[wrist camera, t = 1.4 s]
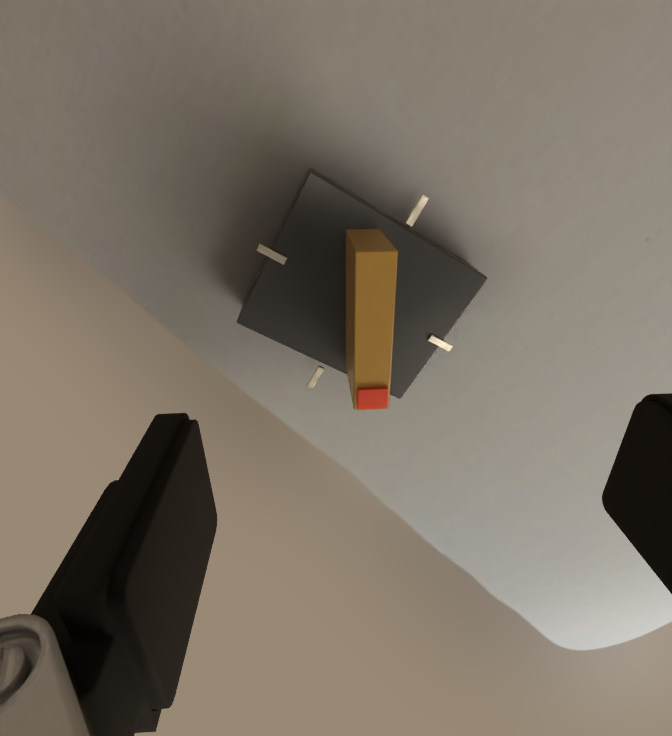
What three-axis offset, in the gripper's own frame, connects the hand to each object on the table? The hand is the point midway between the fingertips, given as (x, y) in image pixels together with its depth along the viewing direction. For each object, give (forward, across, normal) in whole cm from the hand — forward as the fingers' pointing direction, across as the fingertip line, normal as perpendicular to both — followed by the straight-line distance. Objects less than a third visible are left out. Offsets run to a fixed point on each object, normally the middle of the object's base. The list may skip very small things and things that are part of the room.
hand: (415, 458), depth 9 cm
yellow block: (+13, 0, +1) cm, 13 cm away
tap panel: (+16, 0, +1) cm, 16 cm away
